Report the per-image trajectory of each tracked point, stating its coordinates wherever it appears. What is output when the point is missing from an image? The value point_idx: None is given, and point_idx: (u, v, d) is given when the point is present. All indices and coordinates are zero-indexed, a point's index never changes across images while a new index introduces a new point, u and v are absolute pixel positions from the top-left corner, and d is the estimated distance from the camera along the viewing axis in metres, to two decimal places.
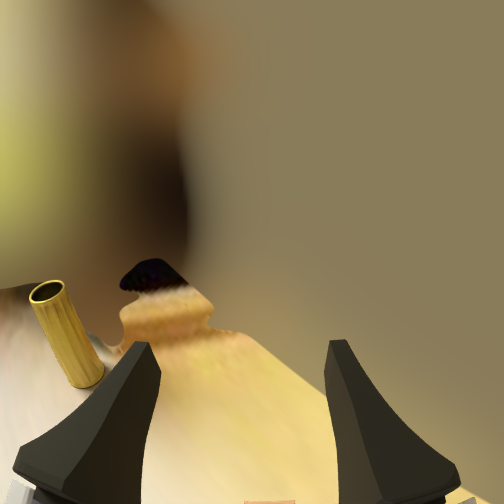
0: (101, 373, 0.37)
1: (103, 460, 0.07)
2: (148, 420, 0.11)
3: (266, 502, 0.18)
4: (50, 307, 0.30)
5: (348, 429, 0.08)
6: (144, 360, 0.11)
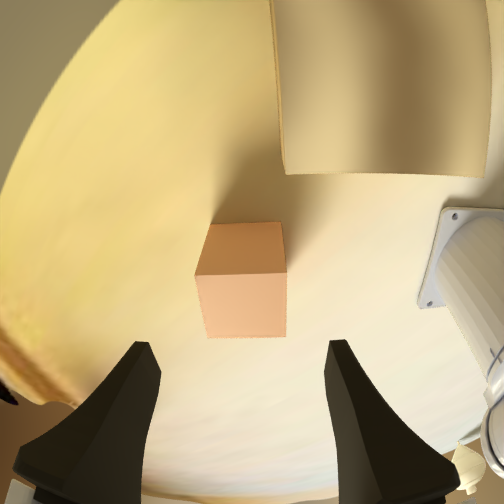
0: None
1: (103, 460, 0.07)
2: (148, 420, 0.11)
3: (204, 313, 0.15)
4: None
5: (348, 429, 0.08)
6: (144, 360, 0.11)
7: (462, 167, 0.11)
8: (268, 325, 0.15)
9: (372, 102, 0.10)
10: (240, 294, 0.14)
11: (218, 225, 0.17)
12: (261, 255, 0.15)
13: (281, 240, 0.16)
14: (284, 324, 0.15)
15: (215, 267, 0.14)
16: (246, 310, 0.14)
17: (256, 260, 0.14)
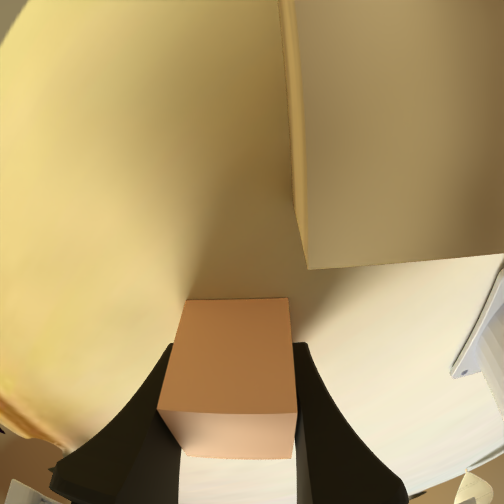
0: None
1: (148, 470, 0.07)
2: None
3: (178, 439, 0.09)
4: None
5: (300, 434, 0.08)
6: None
7: None
8: (267, 452, 0.09)
9: (469, 138, 0.05)
10: (226, 430, 0.08)
11: (197, 303, 0.12)
12: (259, 371, 0.09)
13: (289, 340, 0.10)
14: (290, 450, 0.09)
15: (188, 396, 0.08)
16: (237, 441, 0.09)
17: (251, 385, 0.09)
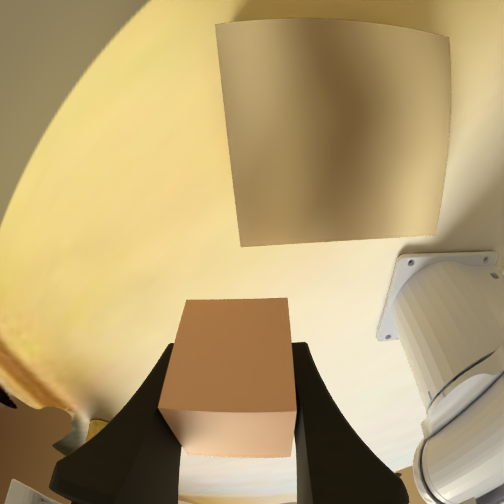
0: (100, 422, 0.33)
1: (148, 470, 0.07)
2: None
3: (179, 437, 0.09)
4: None
5: (300, 434, 0.08)
6: None
7: (411, 228, 0.14)
8: (267, 450, 0.09)
9: (317, 181, 0.13)
10: (227, 427, 0.08)
11: (198, 303, 0.12)
12: (259, 370, 0.09)
13: (289, 340, 0.10)
14: (289, 449, 0.09)
15: (189, 394, 0.08)
16: (236, 439, 0.09)
17: (251, 384, 0.09)
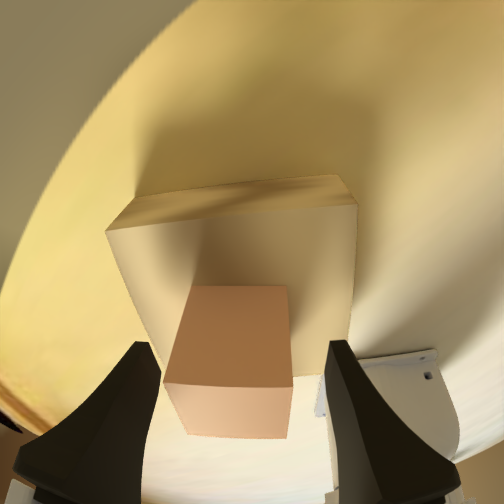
0: None
1: (103, 460, 0.07)
2: (148, 420, 0.11)
3: (180, 415, 0.10)
4: None
5: (348, 429, 0.08)
6: (144, 360, 0.11)
7: (316, 370, 0.16)
8: (264, 430, 0.10)
9: None
10: (227, 404, 0.09)
11: (202, 289, 0.13)
12: (258, 350, 0.10)
13: (287, 323, 0.11)
14: (285, 429, 0.10)
15: (192, 370, 0.09)
16: (235, 418, 0.10)
17: (251, 362, 0.09)
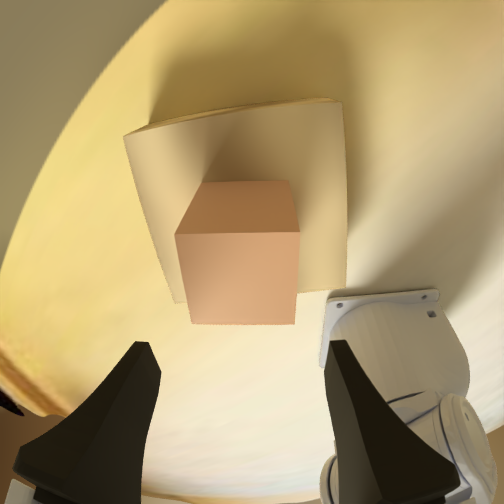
0: None
1: (103, 460, 0.07)
2: (148, 420, 0.11)
3: (187, 289, 0.11)
4: None
5: (348, 429, 0.08)
6: (144, 360, 0.11)
7: (319, 284, 0.17)
8: (271, 308, 0.11)
9: None
10: (235, 262, 0.10)
11: (211, 183, 0.14)
12: (265, 212, 0.11)
13: (290, 198, 0.12)
14: (293, 307, 0.11)
15: (203, 225, 0.10)
16: (243, 286, 0.11)
17: (258, 218, 0.11)
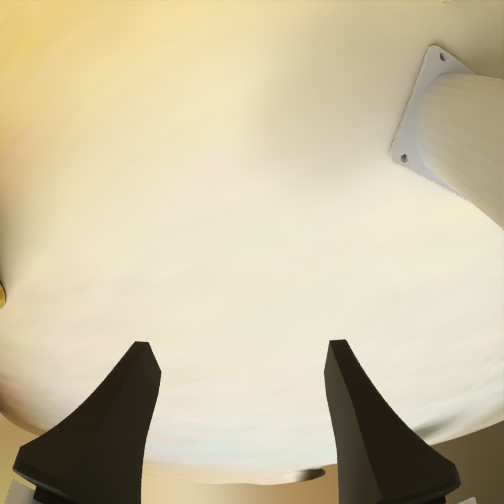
0: None
1: (103, 460, 0.07)
2: (148, 420, 0.11)
3: None
4: None
5: (348, 429, 0.08)
6: (144, 360, 0.11)
7: None
8: None
9: None
10: None
11: None
12: None
13: None
14: None
15: None
16: None
17: None
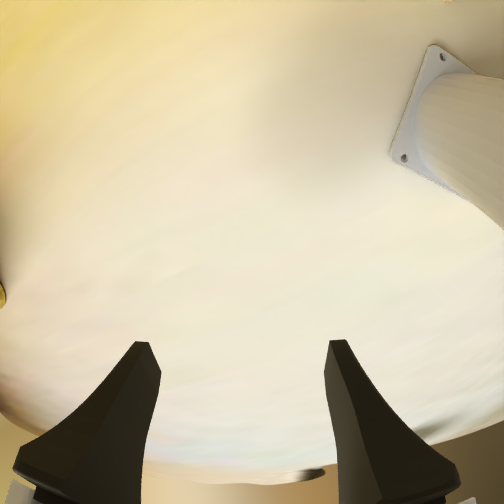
0: None
1: (103, 460, 0.07)
2: (148, 420, 0.11)
3: None
4: None
5: (348, 429, 0.08)
6: (144, 360, 0.11)
7: None
8: None
9: None
10: None
11: None
12: None
13: None
14: None
15: None
16: None
17: None
